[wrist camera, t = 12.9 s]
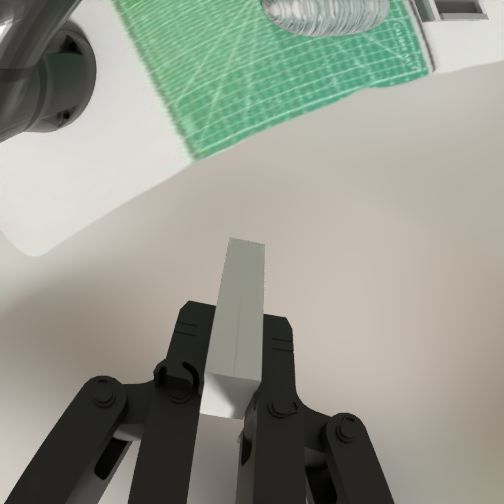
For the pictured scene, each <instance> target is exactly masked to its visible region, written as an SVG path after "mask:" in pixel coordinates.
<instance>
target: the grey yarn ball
mask: <svg viewBox="0 0 504 504" xmlns="http://www.w3.org/2000/svg"><path fill="white" fill-rule="evenodd" d="M261 5H262V8H263V11H264V13H265V14H266V16H267V17H268V19H270V20H271V21H272V22H273V23H274V24H275V25H277V26H278V27H280V28H282V29H284V30H286V31H289V32H291V33H294V34H298V35H304V36H312V37H325V36H340V35H347V34H353V33H358V32H362V31H366V30H369V29H372V28H374V27H376V26H378V25H380V24H381V23H382V22H383V21H384V20H385V19H386V18H387V16H388V14H389V12H390V6H391V3H390V0H261Z"/></svg>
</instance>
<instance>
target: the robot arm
mask: <svg viewBox="0 0 504 504" xmlns="http://www.w3.org/2000/svg"><path fill="white" fill-rule="evenodd" d="M81 1H82V0H0V143H1V142H3V141H5V140H7V139H9V138H11V137H13V136H15V135H17V134H19V133H21V132H41V133H46V132H52V131H56V130H58V129H60V128H63V127H65V126H67V125H69V124H70V123H72V122H73V121H75V120H76V119H77V118H78V117H79V116H80V115H81V113H82V112H83V111H84V109H85V108H86V106H87V105H88V103H89V101H90V98H91V96H92V93H93V90H94V86H95V80H96V62H95V57H94V54H93V51H92V49H91V47H90V45H89V43H88V42H87V41H86V40H85V39H84V38H83V37H82V36H81V35H80V34H78V33H76V32H73V31H69V30H60V29H61V28H62V26H63V25H64V23H65V22H66V21H67V19H68V18H69V17H70V15H71V14H72V13H73V11H74V10H75V9H76V8H77V6H78V5H79V4H80V3H81ZM264 247H265V245H264V244H259V243H255V242H250V241H245V240H240V239H235V238H229V244H228V249H227V254H226V259H225V264H224V269H223V274H222V279H221V284H220V290H219V295H218V300H217V305H216V306H214V305H209V304H204V303H199V302H194V301H188V302H187V303H186V304H185V305H184V306H183V307H182V308H181V309H180V312H179V315H178V318H177V322H176V325H175V328H174V333H173V335H172V339H171V342H170V346H169V349H168V353H167V356H166V359H164V360H163V361H161V362H160V363H159V364H157V366H156V368H155V370H154V371H153V373H154V379H153V380H151V381H149V382H147V383H141V384H121V383H120V382H119V381H118V380H116V379H115V378H112V377H109V376H96V377H94V378H91V379H90V380H89V381H87V382H86V383H85V384H84V386H83V387H82V388H81V390H80V391H79V392H78V394H77V395H76V396H75V398H74V399H73V401H72V402H71V403H70V405H69V406H68V408H67V409H66V410H65V412H64V413H63V415H62V416H61V417H60V419H59V420H58V422H57V423H56V425H55V426H54V428H53V429H52V430H51V432H50V433H49V435H48V436H47V438H46V439H45V441H44V442H43V443H42V445H41V447H40V448H39V449H38V451H37V453H36V454H35V455H34V457H33V458H32V460H31V462H30V463H29V465H28V466H27V468H26V469H25V471H24V472H23V474H22V475H21V477H20V479H19V480H18V482H17V483H16V485H15V487H14V488H13V490H12V491H11V493H10V495H9V496H8V498H7V500H6V502H5V503H4V504H98V502H99V500H100V498H101V497H102V495H103V493H104V491H105V489H106V488H107V486H108V484H109V482H110V481H111V479H112V477H113V475H114V474H115V472H116V470H117V468H118V467H119V465H120V463H121V461H122V460H123V458H124V456H125V454H126V453H127V451H128V449H129V447H130V446H131V444H132V442H133V441H137V440H141V444H140V448H139V453H138V457H137V461H136V466H135V470H134V475H133V479H132V484H131V489H130V494H129V499H128V504H187V496H188V488H189V481H190V473H191V467H192V460H193V453H194V445H195V439H196V433H197V425H198V420H199V413H203V414H208V415H214V416H221V417H227V418H234V419H241V420H242V419H243V417H244V415H245V418H244V419H245V420H244V428H243V430H242V431H241V433H240V435H239V437H238V440H237V443H240V451H239V464H238V477H237V491H236V504H306V497H307V500H308V504H394V501H393V498H392V495H391V493H390V490H389V487H388V485H387V482H386V479H385V477H384V474H383V471H382V469H381V466H380V464H379V461H378V458H377V456H376V453H375V451H374V448H373V446H372V443H371V441H370V438H369V435H368V433H367V430H366V428H365V426H364V424H363V423H362V421H361V420H360V419H359V418H358V417H356V416H355V415H353V414H350V413H338V414H336V415H334V416H333V417H330V416H327V415H324V414H322V413H319V412H316V411H314V410H312V409H310V408H308V407H307V406H306V405H304V404H303V403H302V401H301V400H300V399H299V397H298V395H297V392H296V386H295V365H294V353H293V351H294V349H293V333H292V328H291V326H290V324H289V322H288V320H287V318H286V317H280V316H274V315H268V314H263V301H264V252H265V248H264Z"/></svg>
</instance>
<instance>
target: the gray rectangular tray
mask: <svg viewBox="0 0 504 504" xmlns="http://www.w3.org/2000/svg"><path fill="white" fill-rule="evenodd" d="M414 1H415V3H416V6H417V8H418V11H419V13H420V16H421V19H422V21H423V22H433V21H457V20H489V19H488V16H487V13H486V10H485V7H484V5H483V2H482V0H414Z"/></svg>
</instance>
